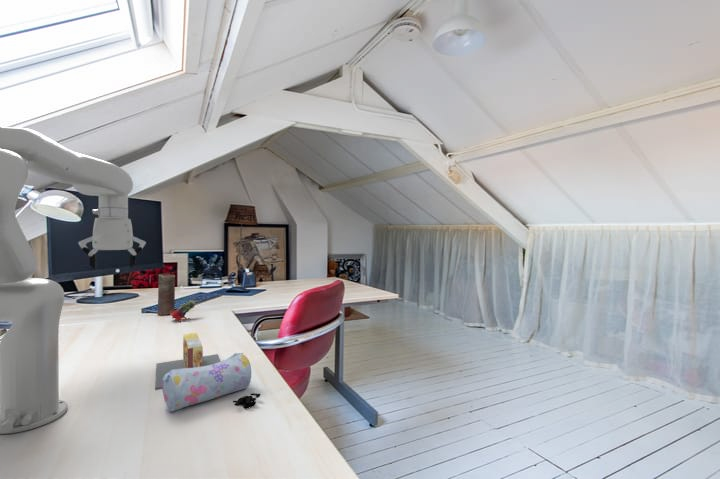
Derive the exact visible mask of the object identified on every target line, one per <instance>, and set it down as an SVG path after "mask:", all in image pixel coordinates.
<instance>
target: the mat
mask: <svg viewBox="0 0 720 479" xmlns="http://www.w3.org/2000/svg"><path fill="white" fill-rule="evenodd" d="M219 356H220V355H219V354H217V353H216V354H210V355H203V366H208V365H212V364H215V363H218V362H220V361H221V359H220V357H219ZM155 367H156V368H155V383H154V384H155V385H154V386H155V387H154V389H155V391H156V390H159V389H160V390H161V389H163V387H162V384H163V377H164V375H165V374H166V373H168V372H170V370H173V369H182V368H185V365H184V361H183V358H182V359H176V360H171V361H163V362H156V366H155Z"/></svg>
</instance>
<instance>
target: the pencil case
mask: <svg viewBox="0 0 720 479" xmlns="http://www.w3.org/2000/svg"><path fill="white" fill-rule="evenodd" d="M251 379H252V364H251V362H250V360H249V358H248V357H247V355H245V354H244V353H243V352H238V353H236V352H235V353H233V354H232V355H230V356H229V357H228V358H226V359H223V360H220V362H218V363H215V364H212V365H208V366H202V367H195V368H182V369H173V370H170V372H168V373H166V374H165V375H164V377H163V384H162V387H163V388H162V395H163V400H164V403H165V405H166V408H167V410H168V412H170V413H172V412H176V411H177V410H181V409H184V408H186V407H189V406H192V405H196V404H199V403H204V402H207V401H210V400H213V399H216V398H220V397H222V396H225V395H229V394H232V393H235V392H238V391H242V390H244V389H247V388H248V387H249V386H250V385H251V381H252V380H251Z"/></svg>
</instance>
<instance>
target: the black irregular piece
mask: <svg viewBox="0 0 720 479" xmlns="http://www.w3.org/2000/svg"><path fill="white" fill-rule="evenodd" d="M254 396H255V397H254ZM260 397H261V393H254V392H253V393H250V395H244V396H242V397H240V398H238V399H237V400H232V403H234V404H233V405H234V406H235V407H238V406H242V407H243V409H244V410H248V409H250V408H252V406H253V407H254V405H255V406H256V404H257V402H256V400H257V399H258V398H260ZM249 407H250V408H249ZM247 408H248V409H247Z"/></svg>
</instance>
